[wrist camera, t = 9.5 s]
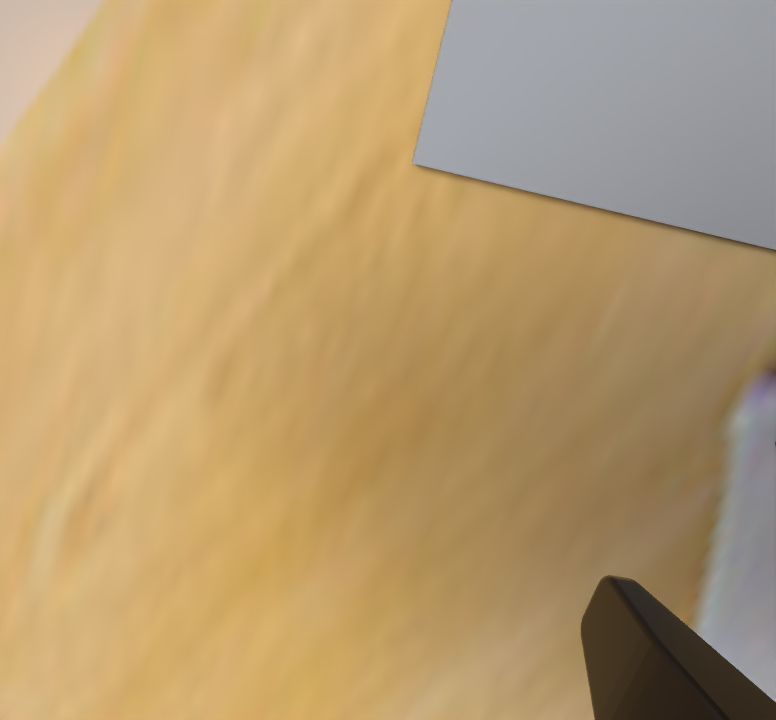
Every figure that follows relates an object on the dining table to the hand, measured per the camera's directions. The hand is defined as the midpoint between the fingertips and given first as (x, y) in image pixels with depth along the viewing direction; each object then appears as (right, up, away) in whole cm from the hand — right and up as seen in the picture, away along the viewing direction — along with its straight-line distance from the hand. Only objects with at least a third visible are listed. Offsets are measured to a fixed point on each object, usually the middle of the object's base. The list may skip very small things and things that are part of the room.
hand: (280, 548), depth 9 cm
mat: (+9, +11, +10) cm, 17 cm away
